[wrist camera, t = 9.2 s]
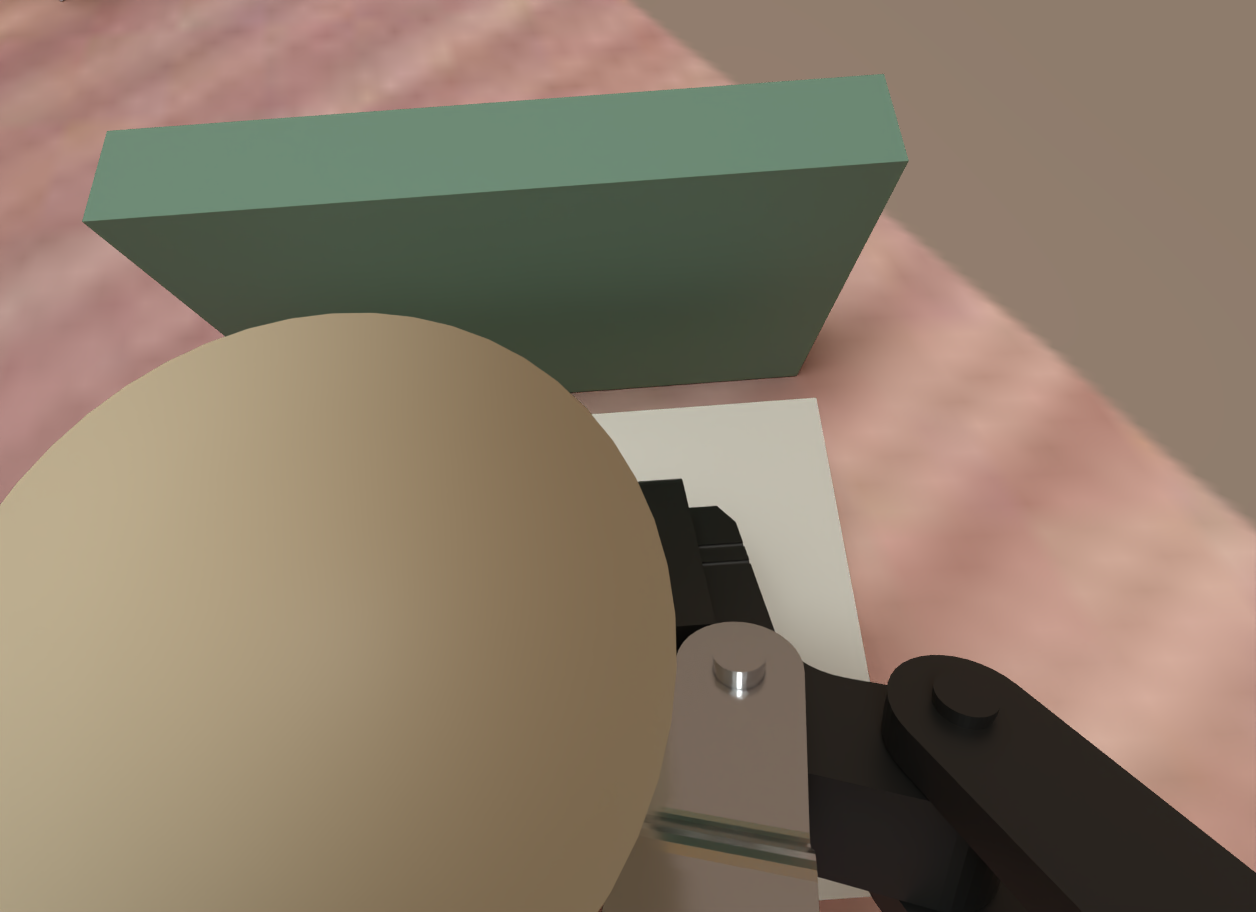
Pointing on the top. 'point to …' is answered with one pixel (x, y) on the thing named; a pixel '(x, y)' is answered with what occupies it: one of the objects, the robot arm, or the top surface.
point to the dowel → (330, 636)
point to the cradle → (764, 516)
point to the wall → (528, 221)
